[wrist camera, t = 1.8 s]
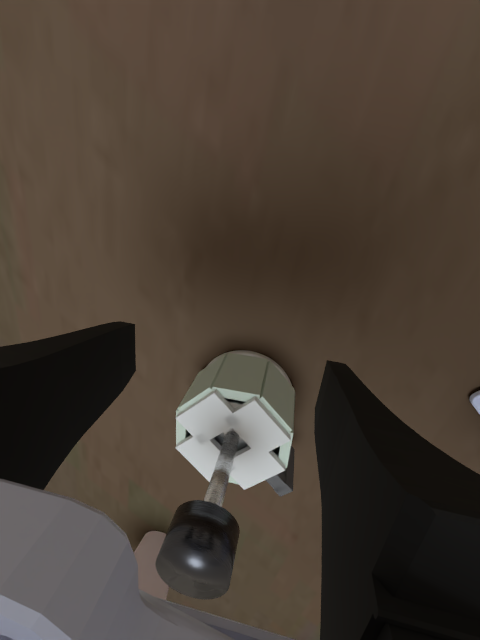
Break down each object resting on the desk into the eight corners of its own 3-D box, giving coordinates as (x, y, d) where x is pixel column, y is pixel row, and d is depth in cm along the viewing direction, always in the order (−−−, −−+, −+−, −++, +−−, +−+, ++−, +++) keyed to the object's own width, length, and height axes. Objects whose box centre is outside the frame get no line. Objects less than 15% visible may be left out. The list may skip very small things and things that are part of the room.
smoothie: (157, 570, 34) (68, 798, 21) (118, 530, 33) (-1, 748, 20) (203, 557, 32) (134, 804, 19) (163, 514, 30) (60, 747, 18)
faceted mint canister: (328, 421, 23) (334, 483, 18) (254, 459, 26) (243, 521, 21) (251, 331, 22) (236, 372, 17) (182, 380, 24) (151, 428, 19)
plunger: (290, 446, 19) (283, 598, 12) (229, 477, 21) (190, 625, 14) (237, 386, 18) (193, 511, 11) (178, 424, 20) (107, 551, 13)
